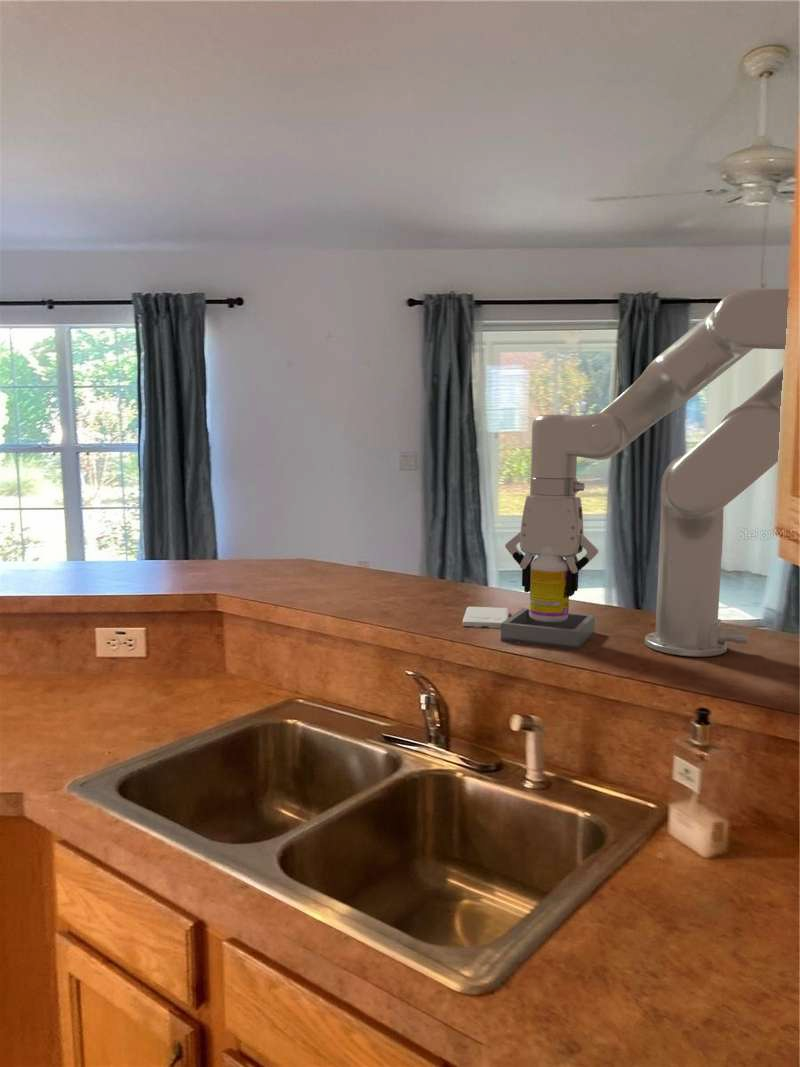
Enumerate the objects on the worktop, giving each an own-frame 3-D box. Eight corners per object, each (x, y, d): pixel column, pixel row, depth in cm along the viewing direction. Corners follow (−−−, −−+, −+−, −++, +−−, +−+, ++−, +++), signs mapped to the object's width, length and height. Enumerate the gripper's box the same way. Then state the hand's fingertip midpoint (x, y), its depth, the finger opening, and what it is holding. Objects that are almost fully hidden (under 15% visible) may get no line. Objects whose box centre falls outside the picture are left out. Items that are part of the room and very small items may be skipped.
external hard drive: (508, 616, 153) (507, 631, 140) (466, 614, 154) (461, 629, 142) (508, 607, 152) (507, 622, 140) (466, 606, 154) (461, 620, 141)
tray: (594, 632, 138) (594, 615, 137) (577, 650, 126) (578, 631, 126) (522, 624, 143) (523, 608, 143) (500, 640, 132) (501, 623, 131)
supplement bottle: (568, 624, 130) (571, 548, 129) (528, 622, 132) (530, 546, 130) (568, 615, 137) (570, 542, 135) (529, 613, 138) (531, 541, 137)
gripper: (609, 489, 131) (604, 593, 134) (509, 485, 139) (507, 584, 141) (600, 492, 125) (596, 602, 127) (496, 488, 132) (494, 592, 134)
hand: (549, 592), depth 134 cm, fingers closed on supplement bottle, 6 cm apart
